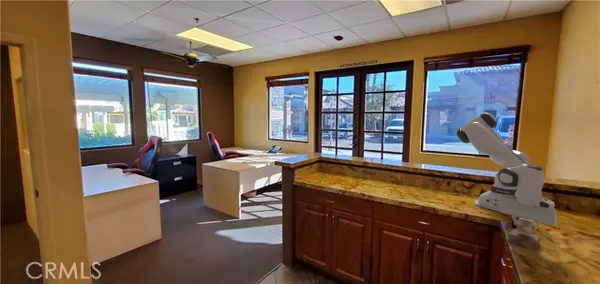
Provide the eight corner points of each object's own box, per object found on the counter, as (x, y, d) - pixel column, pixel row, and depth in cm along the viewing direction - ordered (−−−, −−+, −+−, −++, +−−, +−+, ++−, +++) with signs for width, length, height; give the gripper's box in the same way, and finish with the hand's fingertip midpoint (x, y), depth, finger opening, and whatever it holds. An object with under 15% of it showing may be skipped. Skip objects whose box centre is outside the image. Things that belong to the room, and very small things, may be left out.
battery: (510, 228, 140) (513, 210, 139) (517, 226, 143) (519, 208, 142) (520, 231, 136) (522, 213, 135) (527, 229, 139) (529, 211, 138)
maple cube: (516, 230, 123) (517, 219, 123) (518, 227, 127) (520, 217, 126) (530, 234, 120) (531, 223, 119) (532, 231, 123) (533, 220, 122)
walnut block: (507, 241, 124) (508, 233, 124) (512, 236, 131) (513, 228, 130) (535, 250, 117) (536, 242, 116) (539, 243, 123) (540, 235, 123)
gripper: (499, 194, 127) (496, 221, 129) (557, 206, 112) (553, 237, 113) (502, 192, 131) (499, 218, 133) (559, 203, 116) (555, 233, 117)
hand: (524, 227), depth 123 cm, fingers closed on maple cube, 5 cm apart
